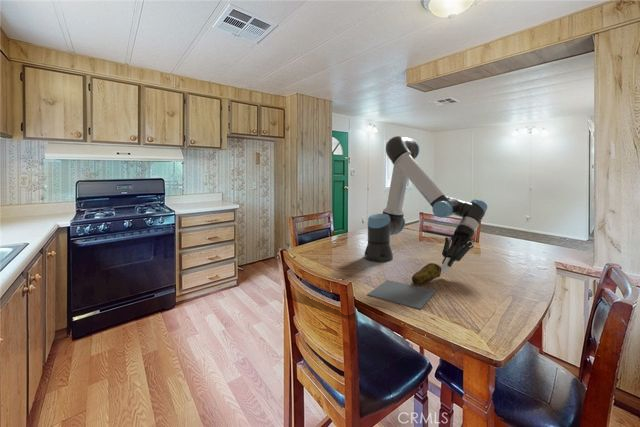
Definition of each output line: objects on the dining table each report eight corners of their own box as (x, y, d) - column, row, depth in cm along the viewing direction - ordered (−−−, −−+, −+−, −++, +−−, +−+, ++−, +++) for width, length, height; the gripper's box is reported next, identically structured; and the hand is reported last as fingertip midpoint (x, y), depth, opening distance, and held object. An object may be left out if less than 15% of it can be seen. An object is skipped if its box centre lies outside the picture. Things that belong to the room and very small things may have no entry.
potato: (407, 279, 123) (407, 261, 121) (436, 278, 123) (437, 261, 122) (414, 287, 114) (414, 268, 113) (445, 286, 115) (446, 267, 114)
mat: (367, 295, 107) (367, 294, 107) (387, 280, 122) (387, 279, 122) (420, 309, 95) (420, 308, 95) (436, 291, 110) (436, 290, 110)
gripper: (483, 236, 127) (460, 280, 120) (455, 231, 138) (433, 272, 131) (477, 225, 123) (453, 270, 117) (449, 222, 134) (426, 263, 127)
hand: (442, 271), depth 124 cm, fingers closed
